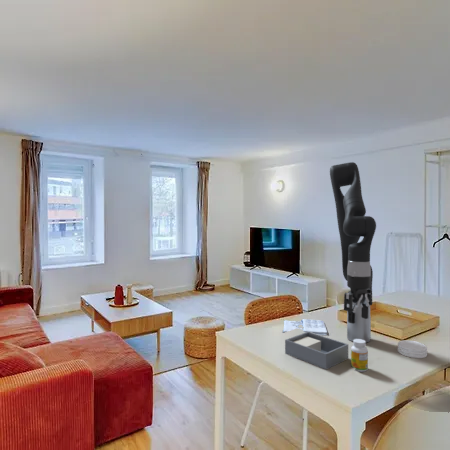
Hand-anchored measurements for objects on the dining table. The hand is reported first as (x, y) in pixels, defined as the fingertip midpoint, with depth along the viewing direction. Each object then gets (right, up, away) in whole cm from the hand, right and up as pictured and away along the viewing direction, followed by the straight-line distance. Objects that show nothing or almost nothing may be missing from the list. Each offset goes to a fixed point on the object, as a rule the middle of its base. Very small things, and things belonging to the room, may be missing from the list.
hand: (358, 320), depth 119 cm
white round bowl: (+26, -17, +13) cm, 34 cm away
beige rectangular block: (-15, -16, +13) cm, 25 cm away
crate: (-12, -17, +9) cm, 23 cm away
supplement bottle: (+1, -17, 0) cm, 17 cm away
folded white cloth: (-9, -17, +45) cm, 48 cm away
